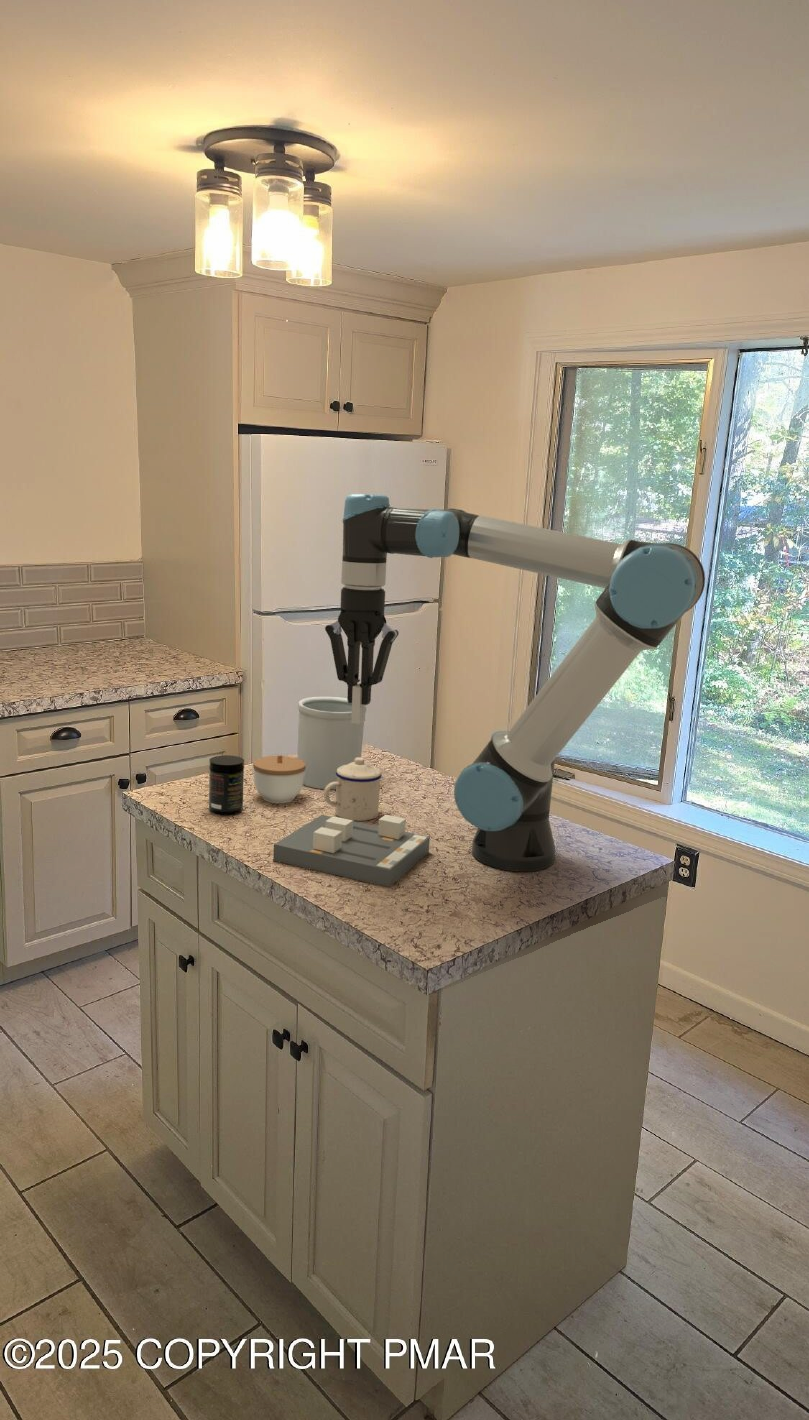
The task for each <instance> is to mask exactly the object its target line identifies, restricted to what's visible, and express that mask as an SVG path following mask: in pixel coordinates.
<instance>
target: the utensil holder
mask: <svg viewBox="0 0 809 1420" xmlns="http://www.w3.org/2000/svg"><path fill="white" fill-rule="evenodd" d="M297 706H298V707H297V708H298V711H299V714H298V730H297V731H298V733H297V735H298V736H297V751H296V752H297V753H296V754H297V755H296V758H297V759H300V760H302V761H304V762H305V763H306V769H305V778H304V783H303V786H305V787H309V788H314V789H319V790H324V789H325V787H326V786H327V785H328V784H329V783H331V782H337V775H336V771H337V769H338V768H339V767H341V766H343V765H348V764H349V763H352V762H354V760H355V758H357V757H361V758H362V753H363V740H364V739H363V738H364V727H365V721H364V722H362V723H360V724H355V723H351V719H352V703H348V700H347V697H338V696H311V697H305V698H302V699H301V700H299V701H298V705H297ZM366 713H367V707H366V708H365V714H366ZM331 790H333V791H335V790H336V786H334V787H332V788H331V789H330V791H331Z"/></svg>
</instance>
